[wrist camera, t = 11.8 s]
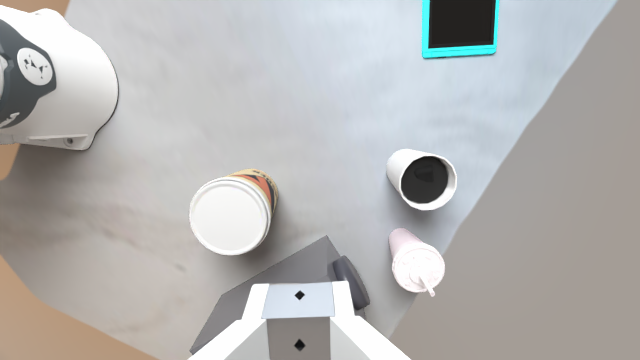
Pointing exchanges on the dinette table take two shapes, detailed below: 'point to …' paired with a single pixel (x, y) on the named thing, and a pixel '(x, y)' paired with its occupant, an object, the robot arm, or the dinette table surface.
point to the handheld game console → (459, 27)
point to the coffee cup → (234, 212)
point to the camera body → (300, 267)
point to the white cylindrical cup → (422, 178)
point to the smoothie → (415, 262)
